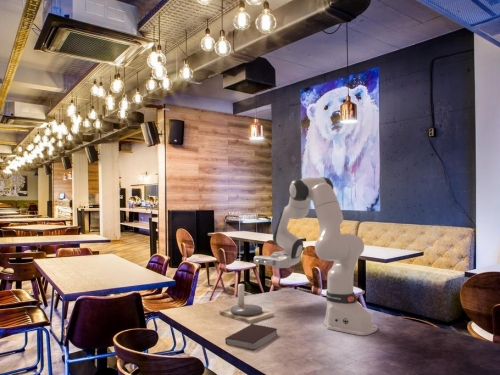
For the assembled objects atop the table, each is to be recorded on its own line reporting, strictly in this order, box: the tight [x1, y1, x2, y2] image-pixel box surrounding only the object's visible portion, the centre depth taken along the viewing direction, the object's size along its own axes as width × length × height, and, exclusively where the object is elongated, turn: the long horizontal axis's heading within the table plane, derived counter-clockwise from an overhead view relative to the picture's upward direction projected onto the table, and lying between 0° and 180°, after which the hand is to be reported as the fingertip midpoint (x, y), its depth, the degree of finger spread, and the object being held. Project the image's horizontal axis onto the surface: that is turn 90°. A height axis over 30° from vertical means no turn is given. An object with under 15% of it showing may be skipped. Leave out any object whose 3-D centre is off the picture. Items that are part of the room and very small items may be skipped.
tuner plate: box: [219, 307, 274, 325], centre depth 181 cm, size 20×16×2 cm
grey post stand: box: [230, 283, 263, 315], centre depth 183 cm, size 17×15×11 cm
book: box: [224, 323, 278, 351], centre depth 150 cm, size 12×19×3 cm, turn 149°
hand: (260, 262), depth 198 cm, fingers open, 4 cm apart
